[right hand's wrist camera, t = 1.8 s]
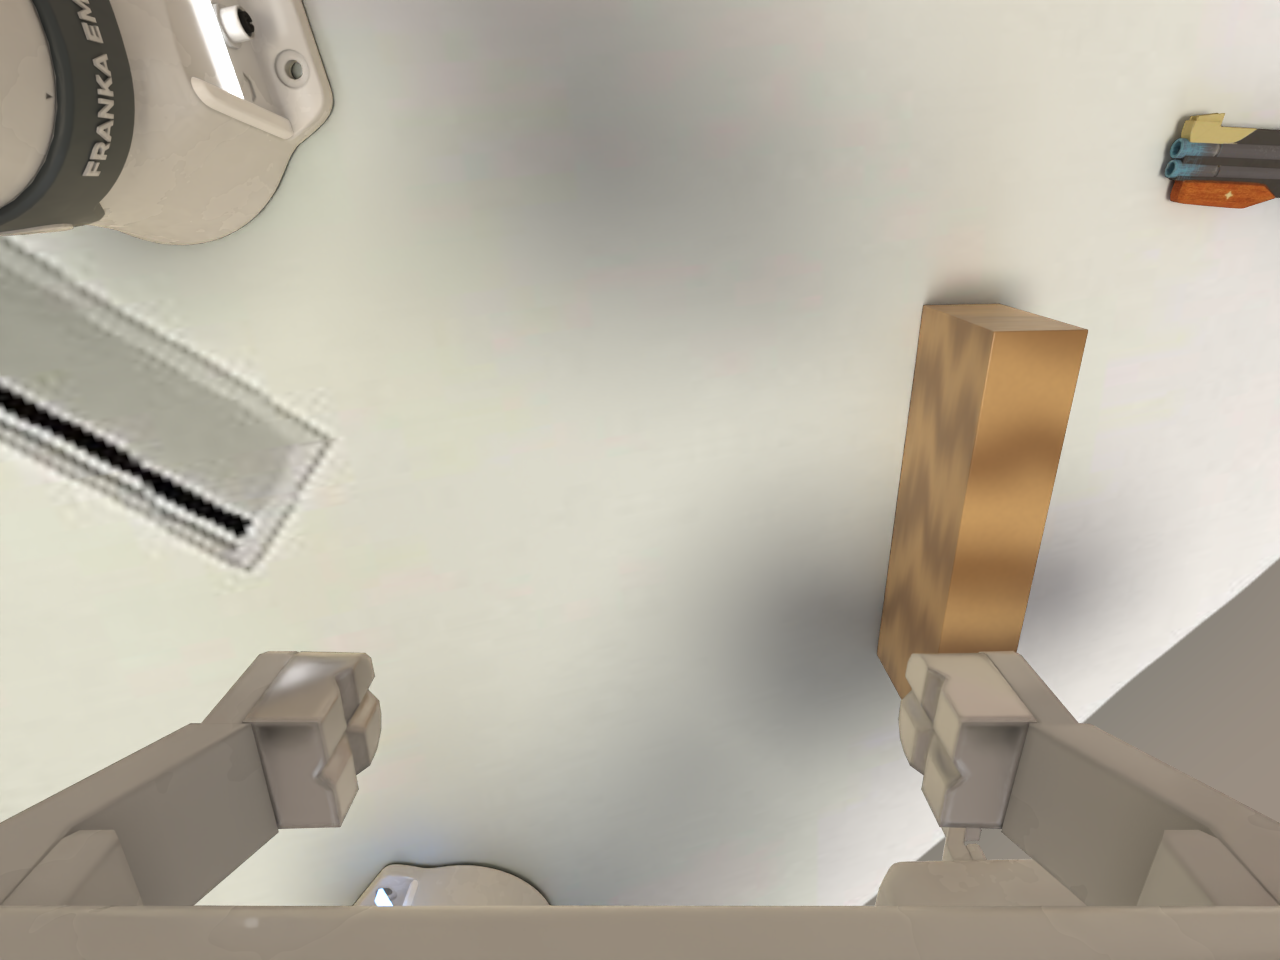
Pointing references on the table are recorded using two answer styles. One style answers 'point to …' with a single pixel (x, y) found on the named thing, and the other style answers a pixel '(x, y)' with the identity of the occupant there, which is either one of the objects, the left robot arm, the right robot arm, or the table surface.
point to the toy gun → (1224, 164)
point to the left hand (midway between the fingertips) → (1048, 793)
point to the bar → (975, 479)
